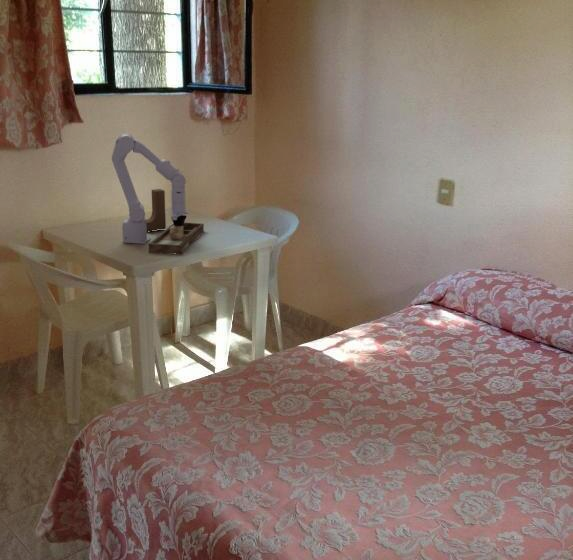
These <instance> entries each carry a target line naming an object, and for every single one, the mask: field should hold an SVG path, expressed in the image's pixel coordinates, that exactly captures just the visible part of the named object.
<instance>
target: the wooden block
mask: <svg viewBox="0 0 573 560" xmlns="http://www.w3.org/2000/svg"><path fill="white" fill-rule="evenodd" d="M165 195H166V192H165V190H164V189H161V188H157V189H156V188H155V189H151V209H152V211H151V216H150V217H149V218H148V219H147V218H146V230H147V233H149V232H148V231H152V230H157V229H165V228H166V226H167V224H166V223H167V222H166V199H165V198H166V196H165ZM166 229H167V228H166Z"/></svg>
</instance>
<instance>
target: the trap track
mask: <svg viewBox="0 0 573 560" xmlns="http://www.w3.org/2000/svg"><path fill="white" fill-rule="evenodd" d="M204 225H205V224H204V223H199V222H184V225H183V235H184V237H183V238H181V239H170V228H171V227H172V226H174V223H173V222H172V224H171V225H170V226H169V227H167V228H166V230H163V231H162V232H161V233H160V234H158V236H156V237H155V238H154V239H153V240H151V241H150V242H149V243H148V253H152V252H162V253H161V254H168V253H176V254H175V255H182V254H183V253H184V252H185V251H186V250H187V249H188V248H189V247H190V246H191V245H192V244H193V243H194V242H195V241H196V240H197V239H198V238H199V237H200V236H201V235H202V234H203V233H204V230H205V226H204ZM200 234H201V235H200ZM199 235H200V236H199ZM198 236H199V237H198ZM197 237H198V238H197ZM196 238H197V239H196Z"/></svg>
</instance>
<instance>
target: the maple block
mask: <svg viewBox="0 0 573 560" xmlns="http://www.w3.org/2000/svg"><path fill="white" fill-rule="evenodd" d="M183 237H184V235H183V226H172V227H171V228H170V239H181V238H183Z"/></svg>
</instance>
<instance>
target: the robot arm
mask: <svg viewBox="0 0 573 560" xmlns="http://www.w3.org/2000/svg"><path fill="white" fill-rule="evenodd" d="M130 152H133V153H136V154H139V155H142V156H143V157H144V158H146V159H147V160H148V161H149V162H150V163H152V164H153V165H154V166H155V171H156V172H157V173H159V174H160V175H161V176H162V177H164V178H165V179H166V180H168V181H170V183H171V191H170V192H171V194H170V195H171V211H170V212H171V213H170V214H171V218H170V219H171V221H172V224H173V223H174V226H183V225H184V223H186V219H187V215H188V214H189V211H186V210H187V209H186V189H185V188H186V186H185V185H186V183H187V181H186V177H185V175H184V174H183V173H182V172H181V171H180V169H179V168H176V167H174V166H173V165H172V164H171V161H170V160H166V159H165V158H163V159H160V158H159V157H158V156H157V155H156V154H155V153H154V152H152V151H151V149H150V148H148V147H147V146H146V145H145V144H144V143H142V141H140V140H138V139H137V138H135V137H133V136H132V135H131V134H129V133H127V132H125V133H121V134H120V135H119V136H118V138H117V139H116V140H115V144H114V147H113V151H112V154H111V162H112V164H113V167H114V170H115V173H116V175H117V178H118V180H119V184H120V186H121V189H122V190H123V194H124V197H125V200H126V203H127V207H128V213H129V215H128V216H129V217H128V219H124V220H123V222H122V225H121V227H122V228H121V229H122V241H121V242H122V243H126V244H140V245H144V244H146V243H147V242H149V241H150V240H151V237H148V235H147V233H148V232H147V230H146V220H147V218H145V217H146V211H145V207H144V205H143V204H142V203H141V202H140V201H139V198H138V195H137V192H136V190H135V187H134V184H133V181H132V178H131V176H130V172H129V171H128V167H127V165H126V162H125V160H126V158H127V156H128V154H129V153H130Z"/></svg>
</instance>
